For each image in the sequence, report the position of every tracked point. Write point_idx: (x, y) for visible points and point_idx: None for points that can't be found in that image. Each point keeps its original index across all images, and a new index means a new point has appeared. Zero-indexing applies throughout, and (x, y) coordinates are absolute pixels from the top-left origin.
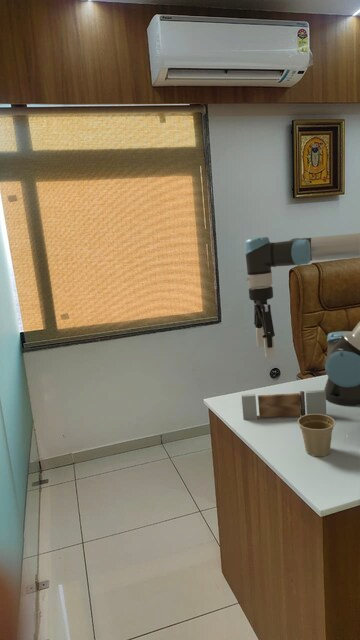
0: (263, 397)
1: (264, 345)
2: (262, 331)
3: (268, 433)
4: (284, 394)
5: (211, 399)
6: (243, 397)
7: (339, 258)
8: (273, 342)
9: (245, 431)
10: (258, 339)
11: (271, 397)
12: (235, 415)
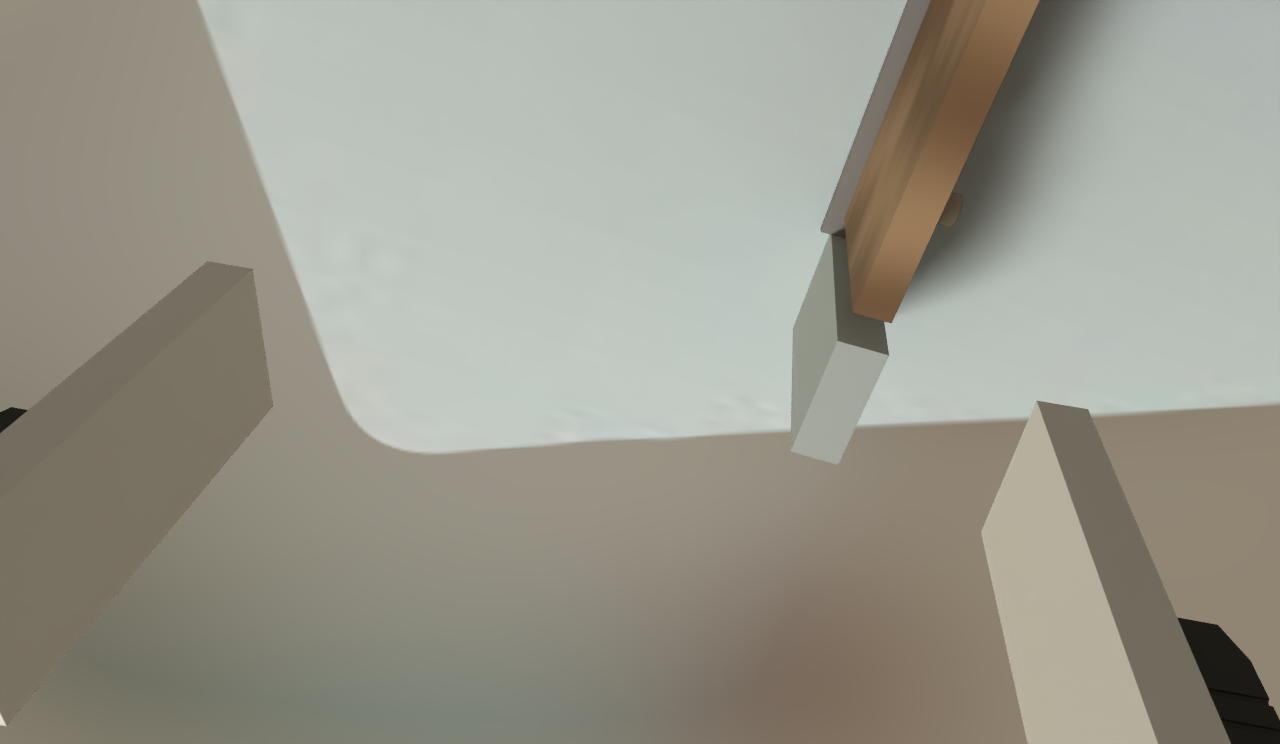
0: (912, 270)
1: (242, 297)
2: (30, 530)
3: (1170, 253)
4: (988, 37)
5: (366, 428)
6: (843, 444)
7: None
8: (1193, 657)
9: (1031, 388)
10: (183, 486)
11: (947, 191)
12: (726, 365)
